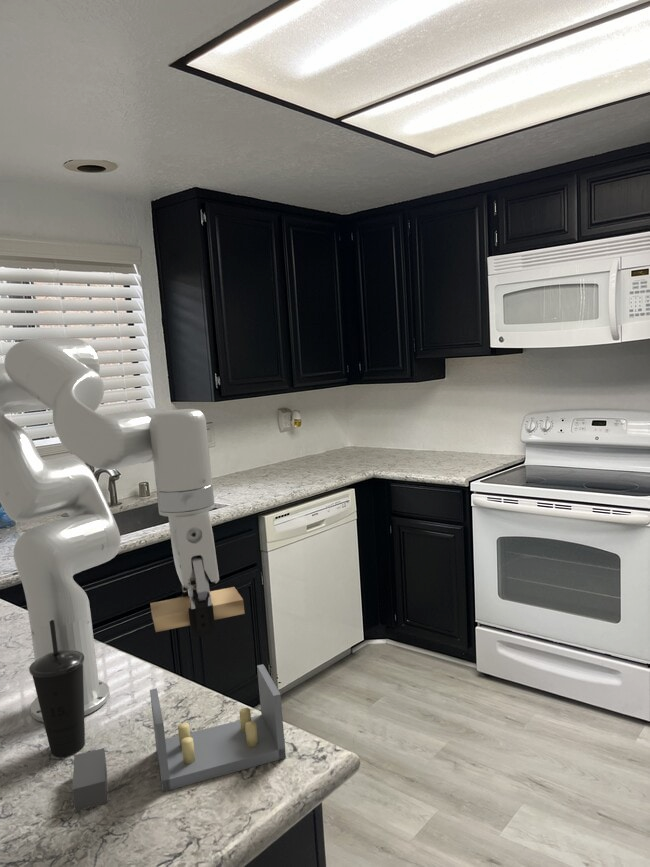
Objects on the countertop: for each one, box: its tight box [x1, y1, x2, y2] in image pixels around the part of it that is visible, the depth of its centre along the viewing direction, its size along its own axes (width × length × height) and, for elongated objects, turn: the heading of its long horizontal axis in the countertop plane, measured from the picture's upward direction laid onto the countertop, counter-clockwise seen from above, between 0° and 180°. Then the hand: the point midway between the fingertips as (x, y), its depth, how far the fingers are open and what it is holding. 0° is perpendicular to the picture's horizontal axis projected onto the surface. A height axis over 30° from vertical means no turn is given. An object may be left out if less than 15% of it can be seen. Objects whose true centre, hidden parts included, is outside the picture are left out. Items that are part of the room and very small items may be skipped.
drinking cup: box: [28, 620, 86, 758], centre depth 97 cm, size 8×8×20 cm
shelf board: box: [149, 586, 246, 633], centre depth 91 cm, size 12×6×2 cm, turn 110°
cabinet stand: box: [149, 663, 287, 793], centre depth 93 cm, size 10×17×10 cm, turn 109°
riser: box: [71, 747, 108, 812], centre depth 88 cm, size 8×4×3 cm, turn 19°
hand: (199, 624), depth 91 cm, fingers closed on shelf board, 6 cm apart
